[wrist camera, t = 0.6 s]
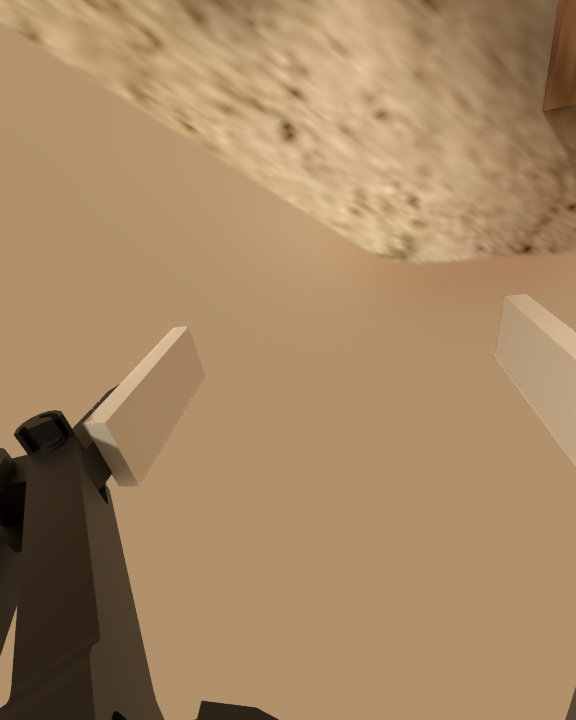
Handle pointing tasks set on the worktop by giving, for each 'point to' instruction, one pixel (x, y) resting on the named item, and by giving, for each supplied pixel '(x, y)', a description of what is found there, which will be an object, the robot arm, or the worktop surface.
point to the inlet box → (562, 59)
